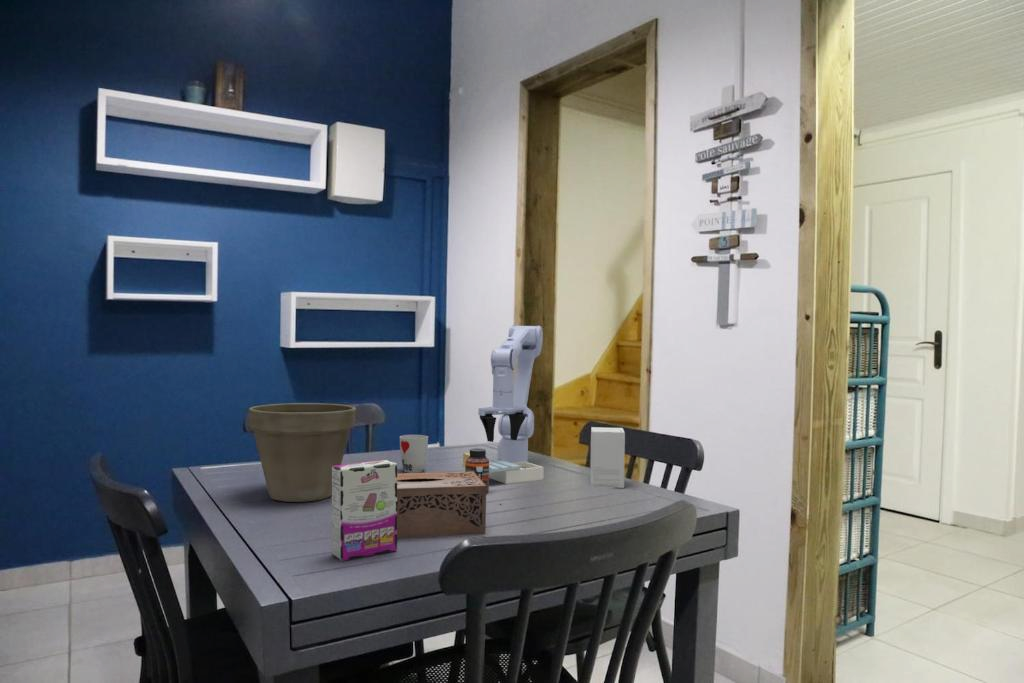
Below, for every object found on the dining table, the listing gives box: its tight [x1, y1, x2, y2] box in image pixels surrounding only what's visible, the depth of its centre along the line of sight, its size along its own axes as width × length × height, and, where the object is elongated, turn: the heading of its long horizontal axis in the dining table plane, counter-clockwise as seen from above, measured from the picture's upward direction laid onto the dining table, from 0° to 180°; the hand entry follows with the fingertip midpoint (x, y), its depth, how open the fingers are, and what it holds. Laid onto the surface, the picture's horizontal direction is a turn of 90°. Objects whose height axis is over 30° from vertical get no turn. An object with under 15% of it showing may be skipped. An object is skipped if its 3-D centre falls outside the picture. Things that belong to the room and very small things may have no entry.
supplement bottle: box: [464, 447, 490, 495], centre depth 179 cm, size 6×6×11 cm
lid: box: [461, 452, 521, 472], centre depth 191 cm, size 10×14×4 cm
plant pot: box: [248, 402, 357, 503], centre depth 174 cm, size 25×25×22 cm
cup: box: [399, 434, 429, 473], centre depth 205 cm, size 8×8×10 cm
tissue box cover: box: [397, 471, 487, 538], centre depth 149 cm, size 26×14×10 cm, turn 103°
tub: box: [489, 461, 545, 485], centre depth 196 cm, size 9×12×4 cm
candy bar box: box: [331, 459, 398, 562], centre depth 131 cm, size 11×5×16 cm, turn 126°
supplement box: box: [589, 426, 626, 489], centre depth 194 cm, size 9×9×15 cm
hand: (502, 440), depth 199 cm, fingers open, 7 cm apart
